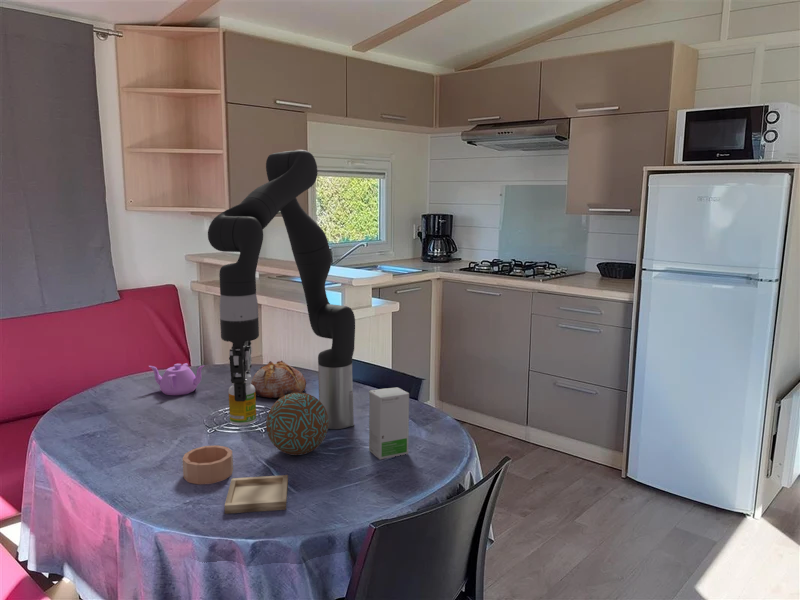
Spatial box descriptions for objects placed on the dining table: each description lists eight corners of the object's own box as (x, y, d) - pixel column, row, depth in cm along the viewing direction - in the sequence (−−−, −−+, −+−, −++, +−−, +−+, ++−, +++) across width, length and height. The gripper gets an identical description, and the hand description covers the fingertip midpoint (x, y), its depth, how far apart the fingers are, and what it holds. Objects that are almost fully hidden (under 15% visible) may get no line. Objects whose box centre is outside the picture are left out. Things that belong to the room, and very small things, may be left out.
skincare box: (379, 460, 149) (378, 398, 147) (367, 450, 155) (367, 390, 152) (410, 454, 153) (410, 392, 151) (397, 444, 159) (397, 385, 156)
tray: (288, 482, 138) (287, 474, 138) (286, 509, 127) (285, 501, 126) (232, 486, 137) (231, 478, 136) (224, 513, 125) (224, 505, 125)
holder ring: (235, 462, 148) (234, 444, 148) (229, 482, 138) (228, 463, 137) (189, 465, 147) (188, 446, 146) (180, 485, 137) (178, 466, 136)
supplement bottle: (249, 426, 127) (247, 380, 126) (224, 424, 128) (222, 378, 127) (260, 417, 132) (259, 373, 131) (237, 415, 134) (235, 371, 132)
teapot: (206, 391, 201) (205, 364, 199) (163, 400, 192) (161, 372, 191) (192, 382, 210) (190, 356, 208) (150, 390, 201) (148, 364, 200)
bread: (280, 382, 214) (280, 353, 212) (317, 395, 201) (318, 364, 199) (238, 390, 202) (238, 360, 201) (275, 404, 189) (275, 372, 187)
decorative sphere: (339, 456, 152) (338, 397, 149) (281, 471, 144) (278, 408, 141) (313, 436, 164) (312, 381, 162) (258, 448, 156) (256, 390, 154)
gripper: (254, 322, 120) (257, 407, 123) (261, 309, 134) (264, 385, 137) (213, 323, 119) (217, 408, 122) (225, 309, 133) (229, 386, 136)
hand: (242, 395), depth 129 cm, fingers closed on supplement bottle, 5 cm apart
